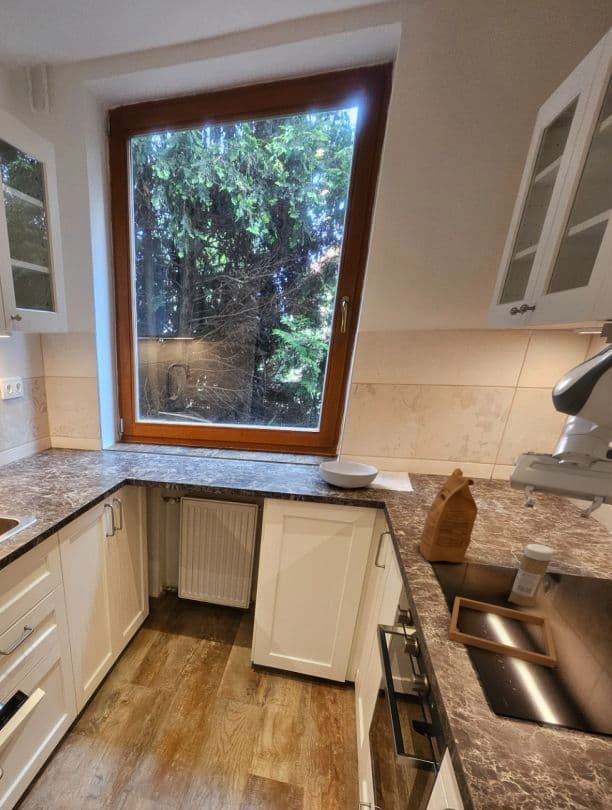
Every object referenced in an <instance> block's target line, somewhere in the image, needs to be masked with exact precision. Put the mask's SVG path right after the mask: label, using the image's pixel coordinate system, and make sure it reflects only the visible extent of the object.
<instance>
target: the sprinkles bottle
mask: <svg viewBox="0 0 612 810" xmlns="http://www.w3.org/2000/svg"><path fill="white" fill-rule="evenodd" d="M554 553H555V550H554V549H553V548H551V547H550V546H547V545H543V544H539V543H530V544H527V545H526V546H525V549H524V552H523V557H522V561H521V564H520V566H519V568H518V571H517V574H516V577H515V579H514V582H513V585H512V587H511V592H510V595H509V597H508V599H507V601H508V602H511V603H513V604H516V605H518V606H521V607H534V605H535V602H536V601H537V600H536V599H537V597H538V595H539V593H540V590H541V588H542V585H543V581H544V578H545V576H546V573H547V570H548V567H549V564H550V562H551V561H552V559H553V557H554Z"/></svg>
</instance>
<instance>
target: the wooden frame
mask: <svg viewBox="0 0 612 810" xmlns="http://www.w3.org/2000/svg"><path fill="white" fill-rule="evenodd" d="M460 607H464V608H468V609H471V610H472V609H473V610H476V611H480V612H485V613H489V614H492V615H496V616H497V615H498V616H500V617H506V618H509V619H514V620H518V621H521V622H525V623H528V624H534V625H538V626H541V630H542V637H543V645H544V650H545V654H541V653H537V652H533V651H529V650H527V649H522V648H519V647H515V646H511V645H507V644H504V643H499V642H496V641H492V640H489V639H484V638H481V637H477V636H473V635H470V634H466V633H463V632H459V631H456V629H457V623H458V617H459V610H460V609H459V608H460ZM550 621H551V620H550V618H549V617H546V616H541V615H538V614H532V613H528V612H524V611H520V610H516V609H511V608H508V607H503V606H499V605H495V604H491V603H486V602H482V601H477V600H472V599H469V598H465V597H460V596H455V598H454V601H453V607H452V613H451V619H450V624H449V625H450V626H449V631H448V636H447V637H448V638H447V639H448V640H451V641H454V642H458V643H461V644H464V645H469V646H472V647H475V648H479V649H482V650H487V651H490V652H493V653H497V654H500V655H504V656H508V657H512V658H514V659H515V658H516V659H518V660H522V661H526V662H530V663H532V664H533V663H534V664H536V665H541V666H545V667H547V668H552V669H554V668H555V666H556V664H557V661H558V660H557V656H556V649H555V644H554V643H555V642H554V639H553V633H552V627H551V622H550Z"/></svg>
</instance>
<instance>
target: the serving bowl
mask: <svg viewBox="0 0 612 810" xmlns="http://www.w3.org/2000/svg"><path fill="white" fill-rule="evenodd" d="M318 469H319V470H318V471H319V475H320V477H321V478H322V479H323V480H324V481H325V482H327V483H328V484H330V485H332V486H335V487H338V488H343V489H356V488H362V487H363V488H364V487H366V486H368V485H370V484H371V483H373V482H374V481H375V480H376V478H377V476H378V473H379V470H378V468H376V467H374V466H372V465H370V464H365V463H360V462H354V461H346V460H345V461H342V460H332V461H325V462H322V463H320V464H319V467H318Z"/></svg>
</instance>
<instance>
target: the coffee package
mask: <svg viewBox="0 0 612 810" xmlns="http://www.w3.org/2000/svg"><path fill="white" fill-rule="evenodd" d="M463 473H464V472H463V471H462V470H461V468H459V467H458V468H455V469H454V470H453V472H452V473H451V475H450V476H449V477H448V478H447V479H446V481H445V482H444V484H443V485H442V486H441V487H440V488H439V491H438V492H437V494H436V495H435V497H434V499H433V502H432V504H431V506H430V508H429V510H428V512H427V515H426V518H425V521H424V525H423V531H422V534H421V538H420V542H419V551H420V554H421V556H422V557H423V558H425V560H426V561H428V562H448V563H463V562H464V559H465V556H466V553H467V551H468V548H469V546H470V544H471V541H472V540H471V537H472V534H473V530H474V525H475V521H476V519H477V515H478V512H479V511H478V507H477V504H476V501H475V499H474V497H473V494H472V492H471V489H470V486H474V485H475V481H474V480H473V479H471V478H469V477H465V476H463Z"/></svg>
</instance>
